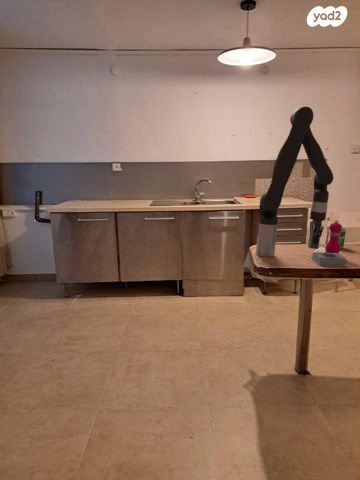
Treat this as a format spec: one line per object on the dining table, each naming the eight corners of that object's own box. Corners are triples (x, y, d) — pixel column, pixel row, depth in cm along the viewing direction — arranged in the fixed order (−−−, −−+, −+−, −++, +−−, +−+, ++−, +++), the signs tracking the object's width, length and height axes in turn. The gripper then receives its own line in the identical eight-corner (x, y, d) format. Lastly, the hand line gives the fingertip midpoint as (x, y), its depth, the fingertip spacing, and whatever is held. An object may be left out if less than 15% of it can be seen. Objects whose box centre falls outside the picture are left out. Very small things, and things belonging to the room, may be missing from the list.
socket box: (319, 265, 152) (320, 257, 151) (312, 259, 161) (314, 251, 160) (344, 266, 151) (345, 257, 150) (336, 260, 160) (338, 252, 159)
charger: (310, 248, 164) (313, 226, 161) (307, 246, 168) (311, 224, 165) (318, 248, 163) (321, 226, 160) (315, 246, 167) (319, 224, 164)
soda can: (327, 245, 188) (329, 226, 185) (339, 246, 188) (342, 226, 185) (332, 249, 181) (335, 229, 178) (345, 249, 181) (348, 229, 178)
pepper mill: (340, 259, 162) (346, 221, 157) (325, 258, 163) (331, 220, 158) (336, 255, 169) (342, 219, 164) (322, 254, 170) (327, 218, 165)
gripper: (306, 208, 168) (302, 239, 172) (316, 212, 154) (311, 245, 158) (321, 208, 167) (316, 239, 171) (331, 213, 153) (326, 246, 158)
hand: (313, 242), depth 165 cm, fingers closed on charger, 4 cm apart
